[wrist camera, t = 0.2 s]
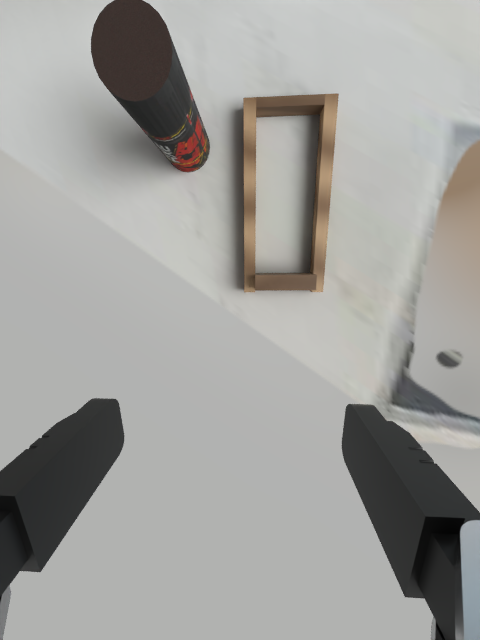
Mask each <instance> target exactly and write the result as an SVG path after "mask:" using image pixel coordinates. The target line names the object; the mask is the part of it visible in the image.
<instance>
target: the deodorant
mask: <svg viewBox="0 0 480 640" xmlns="http://www.w3.org/2000/svg"><path fill="white" fill-rule="evenodd" d="M91 53H92V58H93V63H94V66H95V69H96V71H97V73H98V76H99V78H100V79H101V81H102V82H103V83H104V85H105V86H106V88H107V89H108V90H109V91H110V92H111V94H112V95H113V96H114V97H115V98H116V99H117V101H118V102H119V103H120V104H121V105H122V106H123V107H124V109H125V110H126V111H127V112H128V113H129V114H130V116H131V117H132V118H133V119H134V120H135V121H136V123H137V124H138V125H139V126H140V127H141V128H142V130H143V131H144V132H145V133H146V134H147V135H148V137H149V138H150V139H151V140H152V141H153V142H154V144H155V145H156V146H157V147H158V148H159V149H160V151H161V152H162V153H163V154H164V155H165V156H166V157H167V159H168V160H169V161H170V162H171V163H172V164H173V165H174V166H175V167H176V168H177V169H179V170H181V171H184V172H193V171H196V170H198V169H200V168H201V167H202V166H203V165H204V163H205V162H206V160H207V158H208V155H209V150H210V144H209V139H208V136H207V133H206V131H205V128H204V125H203V122H202V120H201V117H200V114H199V112H198V109H197V106H196V104H195V101H194V98H193V96H192V93H191V90H190V88H189V85H188V82H187V80H186V77H185V74H184V71H183V69H182V66H181V63H180V61H179V58H178V55H177V53H176V50H175V47H174V45H173V42H172V39H171V37H170V34H169V31H168V29H167V26H166V24H165V22H164V20H163V19H162V17H161V16H160V14H159V13H158V12H157V11H156V10H155V9H154V8H153V7H152V6H151V5H150V4H148V3H146V2H144V1H143V0H114V1H113V2H111V3H109V4H108V5H107V6H106V7H105V8H104V9H103V10H102V11H101V13H100V14H99V16H98V18H97V20H96V22H95V24H94V28H93V32H92V37H91Z"/></svg>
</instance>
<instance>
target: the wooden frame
mask: <svg viewBox="0 0 480 640" xmlns="http://www.w3.org/2000/svg"><path fill="white" fill-rule="evenodd" d="M337 107H338V94H318V95H297V96H275V97H253V98H244V292H255V290H310V291H311V292H323V285H324V272H325V259H326V247H327V234H328V221H329V208H330V196H331V183H332V170H333V158H334V145H335V132H336V119H337ZM319 114H320V122H319V138H318V154H317V169H316V185H315V201H314V217H313V232H312V248H311V264H310V273H255V212H256V117H271V116H295V115H319Z"/></svg>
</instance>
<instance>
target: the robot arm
mask: <svg viewBox="0 0 480 640" xmlns="http://www.w3.org/2000/svg"><path fill="white" fill-rule="evenodd" d="M123 443H124V431H123V425H122V419H121V413H120V407H119V403H118V401H117V400H116V399H97V398H95V399H91V400H90V401H88V402H87V403H86V404H85V405H84V406H83V407H82V408H81V409H79V410H78V411H77V412H76V413H74V414H72V415H70V416H68V417H67V418H65V419H63V420H61V421H60V422H58V423H56V424H55V425H54V426H53V427H52V428H51V429H49V430H48V431H47V432H46V433H45V434H44V435H42V438H39V439H38V440H37V441H35V442H34V443H33V444H32V445H31V446H30V448H29V449H26V450H25V451H24V452H23V453H21V454H20V455H19V456H18V457H16V458H15V459H14V460H13V461H12V462H11V463H9V464H8V465H7V466H6V467H5V468H4V469H3V470H1V471H0V640H3V634H4V629H5V623H6V618H7V613H8V607H9V602H10V595H11V590H10V586H9V585H10V583H11V582H12V581H13V579H14V578H15V577H16V575H17V574H18V572H19V571H31V572H41V571H42V569H43V567H44V566H45V565H46V563H47V561H48V560H49V559H50V557H51V556H52V554H53V553H54V551H55V550H56V548H57V547H58V545H59V544H60V542H61V541H62V539H63V538H64V536H65V535H66V533H67V532H68V530H69V529H70V527H71V526H72V524H73V523H74V521H75V520H76V519H77V517H78V515H79V514H80V513H81V511H82V510H83V508H84V507H85V505H86V503H87V502H88V501H89V499H90V498H91V496H92V495H93V493H94V492H95V490H96V489H97V487H98V486H99V484H100V483H101V481H102V480H103V478H104V477H105V475H106V474H107V472H108V471H109V469H110V468H111V466H112V465H113V463H114V462H115V460H116V459H117V458H118V456H119V454H120V452H121V450H122V447H123ZM342 452H343V456H344V461H345V463H346V466H347V468H348V470H349V472H350V475H351V477H352V479H353V481H354V483H355V486H356V488H357V490H358V492H359V495H360V497H361V499H362V502H363V504H364V506H365V508H366V511H367V513H368V515H369V517H370V519H371V522H372V524H373V526H374V528H375V531H376V533H377V535H378V538H379V540H380V542H381V544H382V546H383V549H384V551H385V553H386V555H387V558H388V560H389V562H390V564H391V567H392V569H393V571H394V573H395V576H396V578H397V580H398V582H399V584H400V587H401V589H402V591H403V594H404V596H405V597H413V598H425V600H426V602H427V604H428V606H429V608H430V610H431V612H432V614H433V616H434V617H433V620H432V626H431V640H480V513H479V511H478V510H477V509H476V508H475V507H474V506H473V505H472V504H471V502H470V501H469V500H468V499H467V498H466V497H465V496H464V494H463V493H462V492H461V491H460V490H459V489H458V488H457V487H456V485H455V484H454V483H453V482H452V481H451V480H450V479H449V477H448V476H447V475H446V474H445V473H444V472H443V471H442V470H441V468H440V467H439V466H438V465H437V464H434V462H433V459H432V458H431V457H430V456H429V455H428V454H427V452H426V451H423V449H422V447H421V446H420V445H419V443H418V442H417V441H416V440H415V439H414V438H413V437H412V435H411V434H410V433H409V432H407V431H406V430H404V429H403V428H401V427H400V426H398V425H397V424H396V423H394V422H393V421H386V420H385V418H384V417H383V416H382V415H381V413H380V412H379V411H378V410H377V408H376V407H375V406H374V405H364V404H348V405H347V407H346V412H345V420H344V428H343V437H342Z"/></svg>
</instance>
